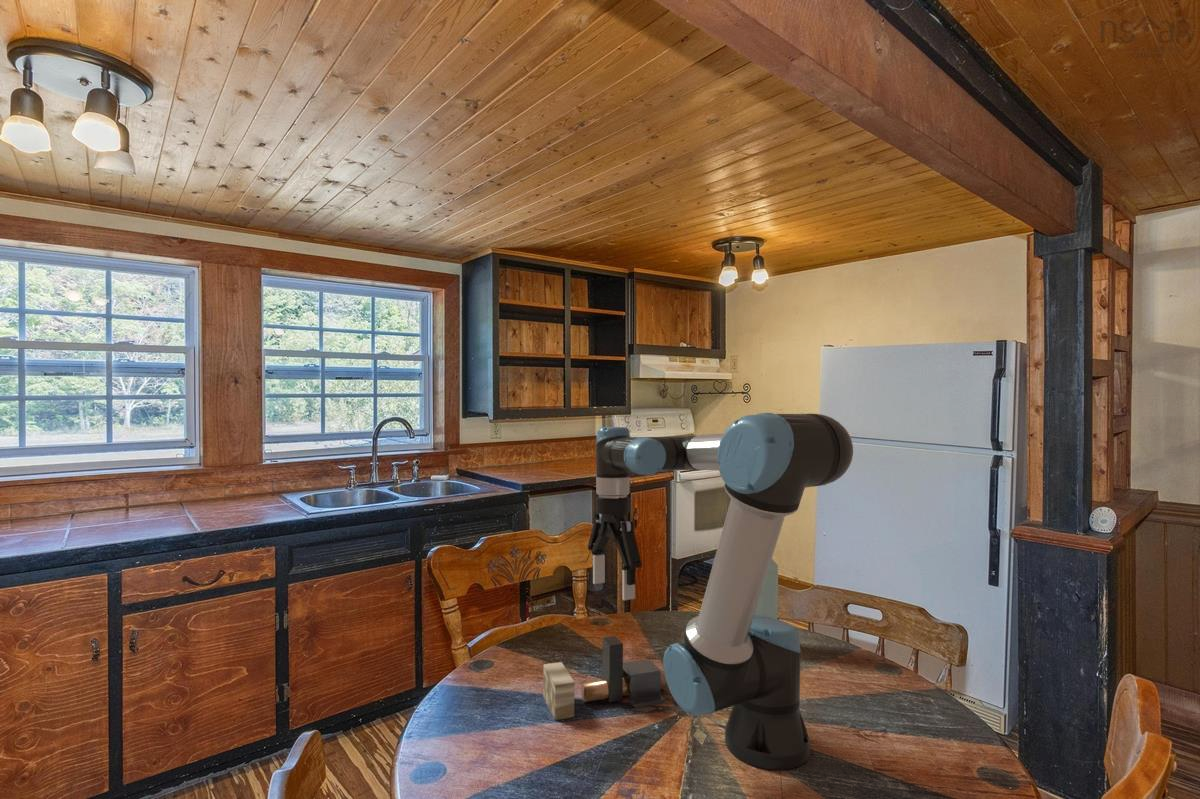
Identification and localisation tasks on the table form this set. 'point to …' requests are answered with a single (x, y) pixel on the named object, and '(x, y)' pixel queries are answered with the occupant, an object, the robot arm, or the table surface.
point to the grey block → (643, 682)
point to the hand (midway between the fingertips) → (613, 590)
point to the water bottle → (769, 594)
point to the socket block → (558, 690)
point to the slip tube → (611, 675)
